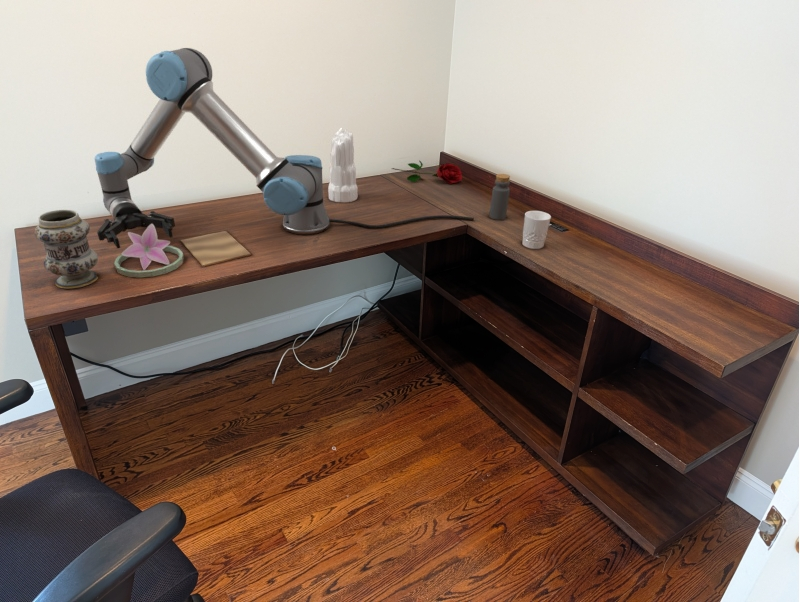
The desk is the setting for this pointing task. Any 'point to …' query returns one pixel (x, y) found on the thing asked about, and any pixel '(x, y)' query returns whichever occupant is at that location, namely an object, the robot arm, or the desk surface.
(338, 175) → the white crystal cluster
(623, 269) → the desk surface
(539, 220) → the white cup
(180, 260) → the pale green bangle
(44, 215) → the apothecary jar
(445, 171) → the flower
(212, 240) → the tan wooden board
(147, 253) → the lily
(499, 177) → the bottle
